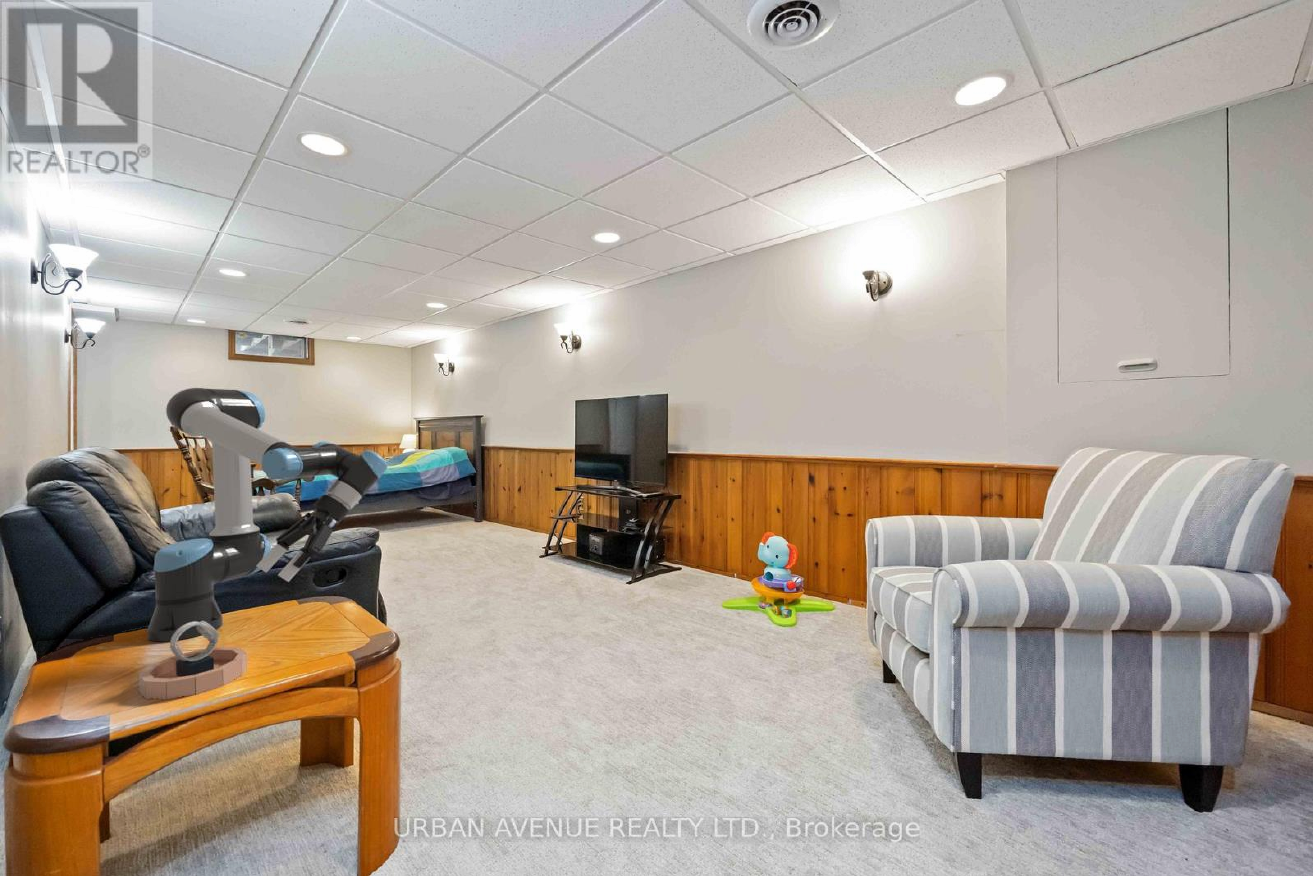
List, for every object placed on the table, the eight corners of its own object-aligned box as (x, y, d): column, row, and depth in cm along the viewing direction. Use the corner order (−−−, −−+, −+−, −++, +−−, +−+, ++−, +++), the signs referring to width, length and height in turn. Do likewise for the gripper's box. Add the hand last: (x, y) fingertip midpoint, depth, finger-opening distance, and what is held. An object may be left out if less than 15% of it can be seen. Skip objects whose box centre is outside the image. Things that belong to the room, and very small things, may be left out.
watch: (224, 668, 120) (223, 618, 120) (179, 684, 113) (178, 631, 113) (210, 663, 122) (209, 614, 122) (165, 678, 115) (164, 626, 115)
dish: (131, 684, 115) (130, 667, 115) (229, 656, 129) (229, 641, 129) (154, 707, 105) (154, 689, 105) (258, 674, 119) (257, 658, 119)
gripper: (371, 515, 136) (306, 591, 125) (327, 507, 151) (265, 573, 139) (348, 497, 132) (279, 573, 120) (305, 489, 147) (239, 557, 135)
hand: (271, 574), depth 130 cm, fingers open, 13 cm apart
